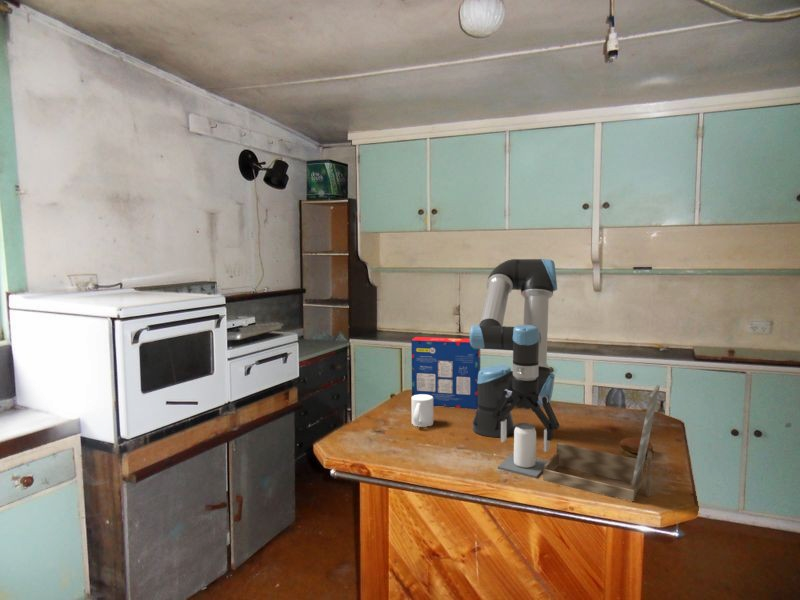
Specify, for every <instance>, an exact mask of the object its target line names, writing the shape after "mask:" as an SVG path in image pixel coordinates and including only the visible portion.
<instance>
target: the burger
mask: <svg viewBox="0 0 800 600" xmlns="http://www.w3.org/2000/svg"><path fill="white" fill-rule="evenodd" d="M640 441H641V437H626V438H623V439H621V441H620V442H619V450H618V451H619V453H621V454H622V456H625V457H630V458H634V459H637V456H638V451H639V446H640ZM648 451H652V454H654V447H653V445H652V443H651V442H650V441H648V446H647V451H646V456H645V459H647V453H648Z"/></svg>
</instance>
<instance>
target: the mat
mask: <svg viewBox="0 0 800 600" xmlns="http://www.w3.org/2000/svg"><path fill="white" fill-rule="evenodd" d="M548 461H549V460H544V459H543V460H542V459H538V458H536V462H535V465H534V467H531V468H521V467H518V466H516V465H515V464H514V453H512V454H510V455H509V456H508V457H507V458H506V459H505V460H504V461H502V462H501V463H500V464H499V465H498V466H497V469H498V470H503V471H506V472H511V473H514V474H518V475H523V476H525V477H530V476H531V477H530V478H533V479H537V478H538V477H539V476H541V474H543V470H544V465H545V464H546V463H547V462H548Z"/></svg>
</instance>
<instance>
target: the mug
mask: <svg viewBox="0 0 800 600" xmlns="http://www.w3.org/2000/svg"><path fill="white" fill-rule="evenodd" d="M410 411H411V425H412V424H413V425H412V426H414V427H417V426H418V427H419V428H427V426H429V427H431V426H433V425H434V406H433V396H431V395H427V394H418V395H414V396H412V395H411V409H410Z"/></svg>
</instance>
